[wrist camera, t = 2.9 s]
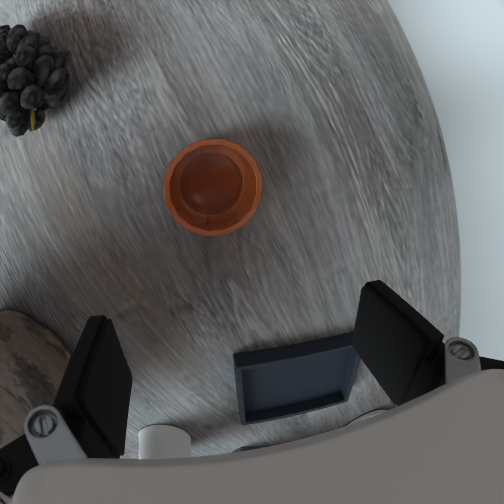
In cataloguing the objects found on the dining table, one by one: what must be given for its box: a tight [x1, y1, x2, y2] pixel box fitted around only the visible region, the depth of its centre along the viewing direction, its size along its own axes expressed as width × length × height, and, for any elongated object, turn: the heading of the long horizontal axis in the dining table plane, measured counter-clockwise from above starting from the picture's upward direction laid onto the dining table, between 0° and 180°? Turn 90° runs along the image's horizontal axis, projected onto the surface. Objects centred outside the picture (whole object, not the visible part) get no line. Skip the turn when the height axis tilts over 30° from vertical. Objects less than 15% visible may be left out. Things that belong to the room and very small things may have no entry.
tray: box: [233, 332, 360, 425], centre depth 35 cm, size 16×12×2 cm
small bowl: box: [163, 139, 262, 236], centre depth 23 cm, size 7×7×5 cm
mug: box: [138, 425, 191, 459], centre depth 32 cm, size 12×8×12 cm
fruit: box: [0, 25, 71, 137], centre depth 14 cm, size 9×8×15 cm
